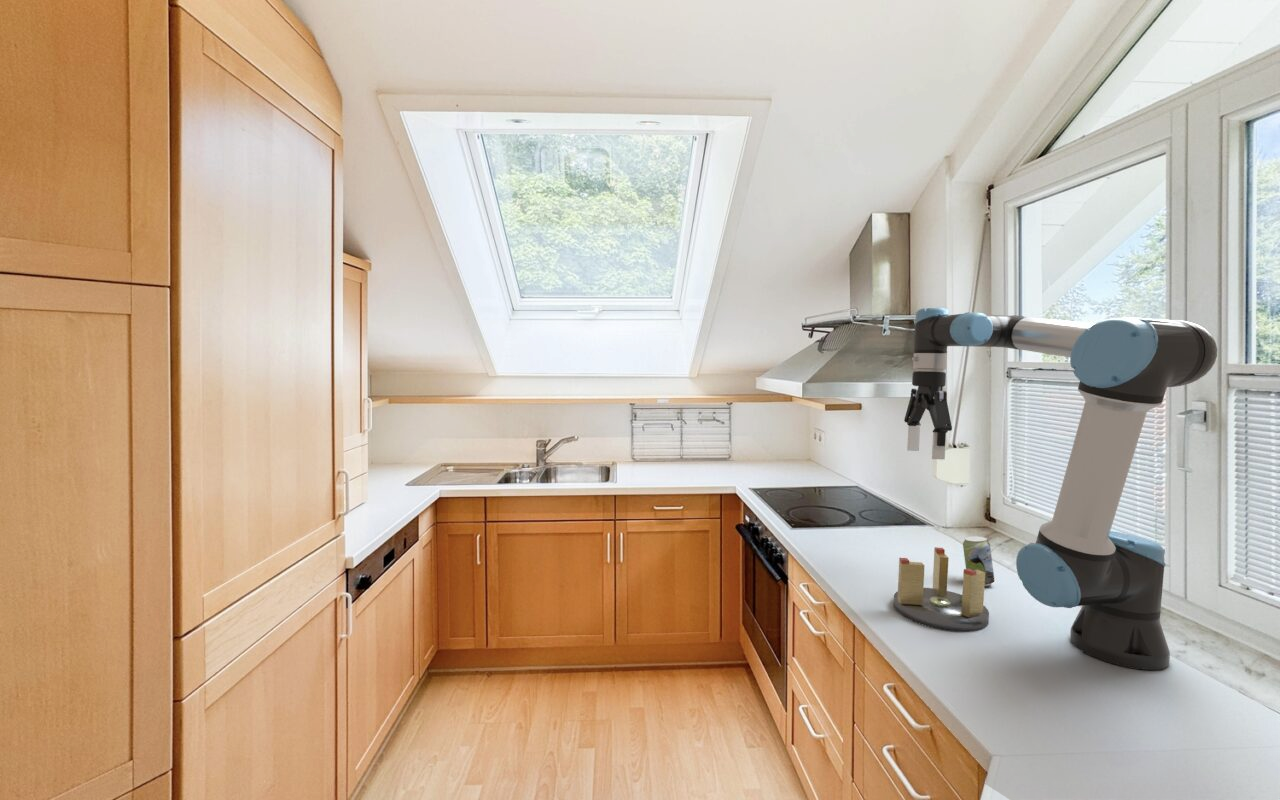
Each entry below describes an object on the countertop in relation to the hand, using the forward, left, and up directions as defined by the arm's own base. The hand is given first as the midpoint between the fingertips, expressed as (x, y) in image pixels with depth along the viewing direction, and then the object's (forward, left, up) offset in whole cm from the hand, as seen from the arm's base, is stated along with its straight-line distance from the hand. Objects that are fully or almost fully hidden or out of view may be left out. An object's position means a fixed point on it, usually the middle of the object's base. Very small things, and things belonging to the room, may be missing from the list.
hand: (925, 454), depth 149 cm
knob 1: (-12, +19, -31) cm, 38 cm away
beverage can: (-8, -12, -33) cm, 36 cm away
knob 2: (-11, +7, -31) cm, 33 cm away
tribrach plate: (-15, +13, -33) cm, 38 cm away
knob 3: (-22, +12, -31) cm, 39 cm away
